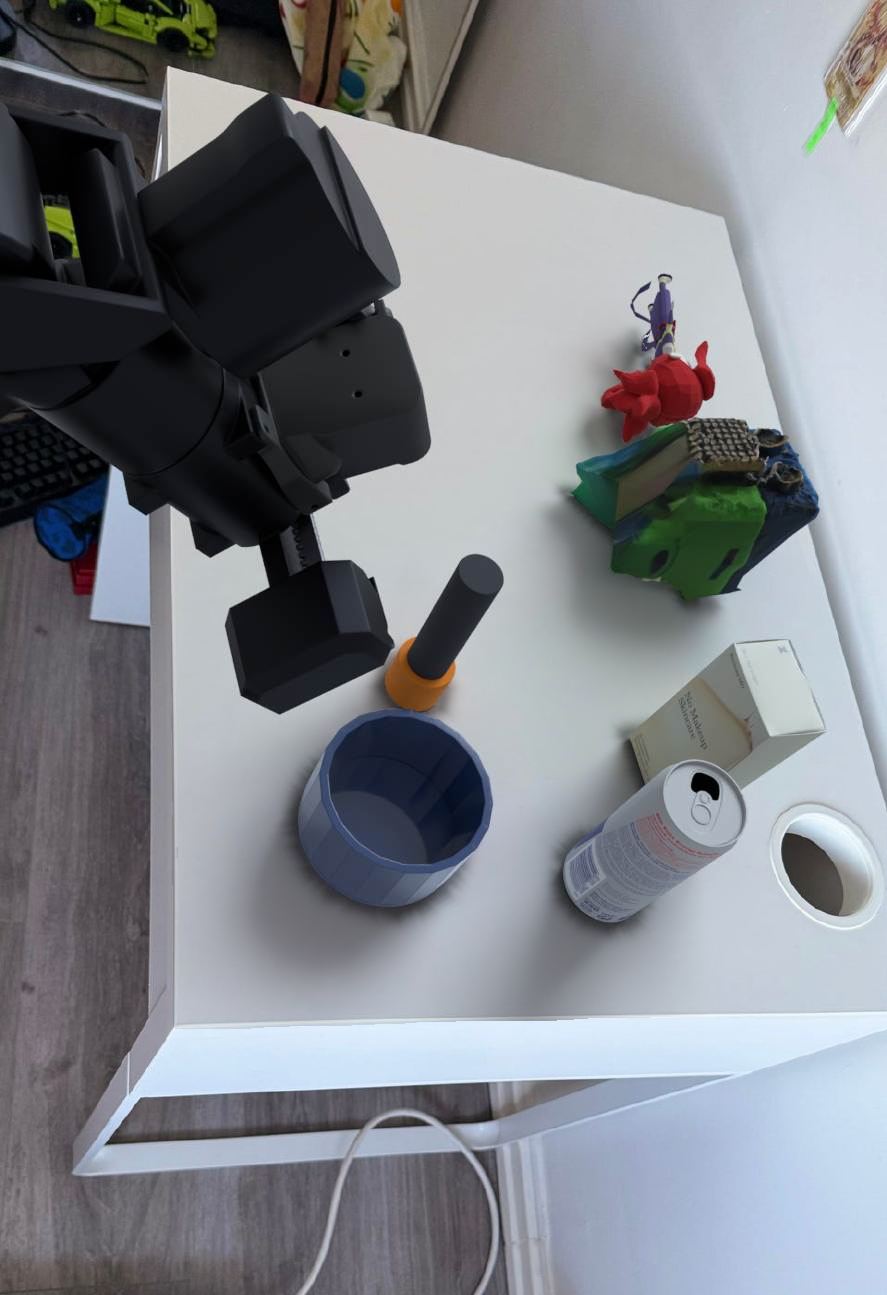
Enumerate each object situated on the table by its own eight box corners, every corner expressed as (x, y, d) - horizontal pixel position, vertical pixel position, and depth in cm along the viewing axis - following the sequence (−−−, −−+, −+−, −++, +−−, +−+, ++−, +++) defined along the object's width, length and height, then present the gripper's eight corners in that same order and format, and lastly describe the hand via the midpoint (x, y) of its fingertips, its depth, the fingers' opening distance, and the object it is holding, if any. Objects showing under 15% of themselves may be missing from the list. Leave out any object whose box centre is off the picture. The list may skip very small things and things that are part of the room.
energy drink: (646, 859, 68) (756, 778, 58) (632, 937, 65) (745, 866, 55) (569, 828, 67) (667, 740, 57) (552, 905, 64) (651, 827, 54)
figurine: (685, 327, 91) (701, 468, 84) (585, 317, 90) (593, 458, 83) (711, 261, 85) (730, 406, 79) (604, 249, 84) (615, 395, 78)
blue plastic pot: (279, 878, 60) (300, 841, 55) (319, 731, 64) (342, 685, 60) (442, 927, 62) (477, 895, 57) (470, 781, 66) (504, 741, 62)
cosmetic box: (626, 735, 72) (728, 637, 61) (682, 730, 73) (790, 633, 63) (657, 823, 70) (768, 737, 59) (714, 815, 71) (831, 730, 61)
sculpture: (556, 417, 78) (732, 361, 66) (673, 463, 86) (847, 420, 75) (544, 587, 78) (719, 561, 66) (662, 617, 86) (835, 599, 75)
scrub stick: (379, 700, 66) (443, 588, 56) (390, 653, 68) (455, 536, 58) (434, 719, 67) (507, 612, 57) (444, 672, 69) (517, 559, 59)
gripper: (412, 512, 35) (567, 665, 48) (286, 103, 41) (455, 342, 55) (136, 657, 38) (354, 761, 52) (60, 260, 44) (272, 447, 58)
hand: (363, 568), depth 54 cm, fingers open, 9 cm apart
